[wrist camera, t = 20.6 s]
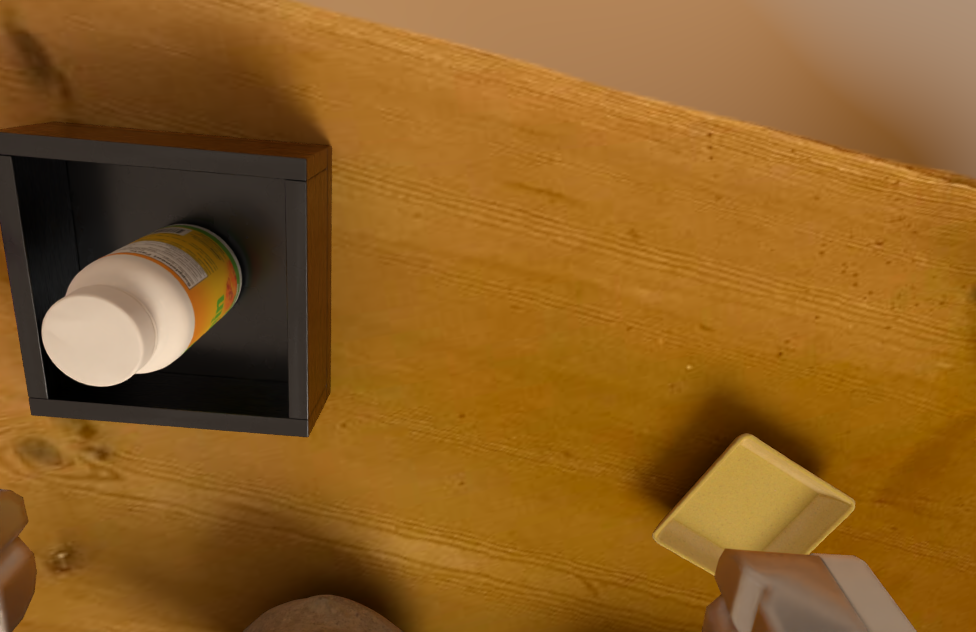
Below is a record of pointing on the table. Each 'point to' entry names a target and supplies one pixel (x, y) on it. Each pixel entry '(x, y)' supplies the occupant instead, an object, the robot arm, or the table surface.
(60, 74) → the table surface
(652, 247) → the table surface
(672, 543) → the saucer
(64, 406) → the open square tray
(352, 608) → the bowl
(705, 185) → the table surface
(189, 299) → the supplement bottle
